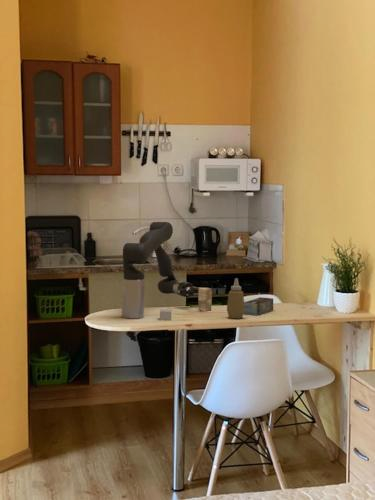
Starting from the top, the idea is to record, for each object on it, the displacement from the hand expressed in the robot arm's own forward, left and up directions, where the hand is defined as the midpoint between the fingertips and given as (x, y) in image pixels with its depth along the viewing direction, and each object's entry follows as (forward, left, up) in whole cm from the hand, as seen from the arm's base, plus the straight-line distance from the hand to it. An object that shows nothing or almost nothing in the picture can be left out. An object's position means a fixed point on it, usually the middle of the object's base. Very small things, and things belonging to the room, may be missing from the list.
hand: (200, 293), depth 312 cm
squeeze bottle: (+20, -16, -8) cm, 27 cm away
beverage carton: (+28, +2, -9) cm, 29 cm away
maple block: (+3, -3, -8) cm, 9 cm away
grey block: (-9, -30, -8) cm, 33 cm away
